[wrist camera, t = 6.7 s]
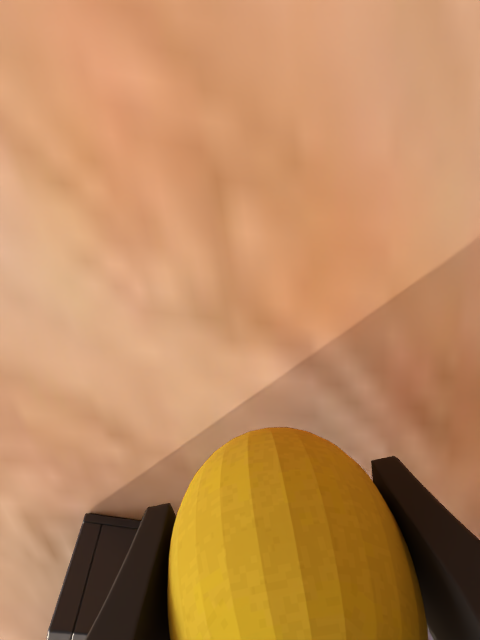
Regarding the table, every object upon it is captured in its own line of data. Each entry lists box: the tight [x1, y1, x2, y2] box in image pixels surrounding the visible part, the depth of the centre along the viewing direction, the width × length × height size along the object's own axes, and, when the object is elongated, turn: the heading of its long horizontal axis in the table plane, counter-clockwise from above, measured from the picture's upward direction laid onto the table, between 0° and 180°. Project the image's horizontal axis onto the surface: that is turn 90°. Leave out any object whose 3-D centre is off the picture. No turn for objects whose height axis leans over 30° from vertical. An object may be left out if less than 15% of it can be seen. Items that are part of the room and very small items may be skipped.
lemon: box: [167, 427, 428, 640], centre depth 9 cm, size 6×6×8 cm
